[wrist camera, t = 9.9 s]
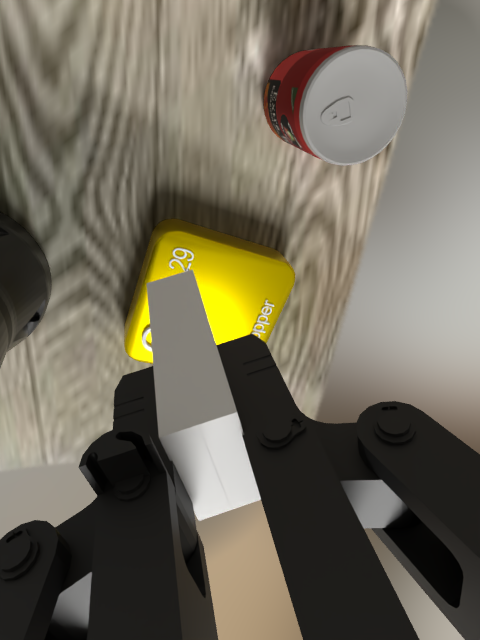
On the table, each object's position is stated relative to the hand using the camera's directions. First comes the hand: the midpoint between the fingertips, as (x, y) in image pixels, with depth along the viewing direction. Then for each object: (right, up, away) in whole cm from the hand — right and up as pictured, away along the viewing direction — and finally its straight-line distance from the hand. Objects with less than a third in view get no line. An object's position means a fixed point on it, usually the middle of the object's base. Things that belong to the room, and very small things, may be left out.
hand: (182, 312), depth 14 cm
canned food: (+8, +20, +25) cm, 33 cm away
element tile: (-2, +3, +34) cm, 34 cm away
